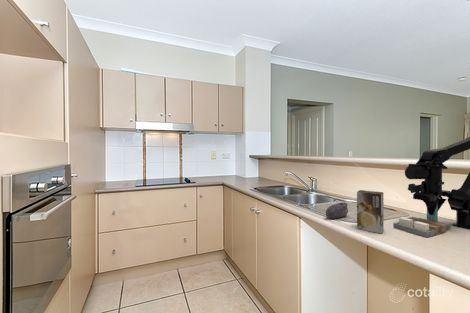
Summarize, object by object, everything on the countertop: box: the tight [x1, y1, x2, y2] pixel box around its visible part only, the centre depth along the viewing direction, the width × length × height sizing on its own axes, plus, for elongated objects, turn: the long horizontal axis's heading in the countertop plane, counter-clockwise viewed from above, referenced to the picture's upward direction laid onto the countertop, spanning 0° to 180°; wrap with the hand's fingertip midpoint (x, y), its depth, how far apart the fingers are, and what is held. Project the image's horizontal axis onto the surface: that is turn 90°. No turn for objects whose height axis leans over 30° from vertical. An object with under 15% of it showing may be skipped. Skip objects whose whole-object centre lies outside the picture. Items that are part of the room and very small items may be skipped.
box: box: [392, 221, 436, 239], centre depth 90 cm, size 6×12×2 cm, turn 24°
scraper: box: [419, 205, 451, 232], centre depth 96 cm, size 3×11×10 cm, turn 24°
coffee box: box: [356, 189, 385, 234], centre depth 92 cm, size 9×6×16 cm
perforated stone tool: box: [325, 202, 349, 220], centre depth 109 cm, size 15×5×7 cm, turn 115°
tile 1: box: [398, 216, 413, 228], centre depth 92 cm, size 4×4×2 cm
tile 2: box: [414, 221, 429, 232], centre depth 87 cm, size 4×4×2 cm
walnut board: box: [407, 216, 447, 236], centre depth 93 cm, size 8×12×3 cm, turn 24°
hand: (432, 214), depth 95 cm, fingers closed on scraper, 2 cm apart
